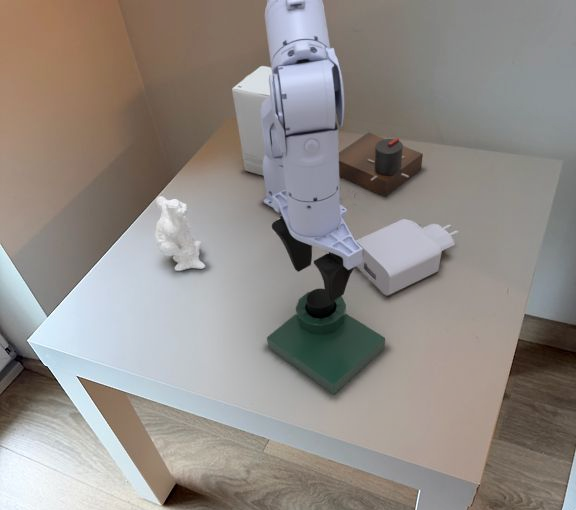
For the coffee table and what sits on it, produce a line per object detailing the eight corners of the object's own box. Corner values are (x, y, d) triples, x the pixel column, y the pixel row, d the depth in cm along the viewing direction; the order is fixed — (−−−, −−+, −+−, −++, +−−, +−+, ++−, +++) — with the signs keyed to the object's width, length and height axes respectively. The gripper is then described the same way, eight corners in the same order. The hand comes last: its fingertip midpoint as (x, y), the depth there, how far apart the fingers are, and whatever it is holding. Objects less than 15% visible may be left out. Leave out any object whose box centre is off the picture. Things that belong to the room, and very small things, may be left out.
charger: (471, 258, 80) (387, 298, 77) (432, 226, 85) (352, 263, 82) (477, 232, 76) (389, 273, 73) (436, 200, 81) (352, 238, 78)
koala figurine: (218, 266, 84) (201, 199, 75) (181, 285, 82) (158, 220, 73) (193, 239, 89) (174, 174, 79) (157, 257, 87) (133, 192, 77)
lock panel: (327, 176, 96) (326, 159, 93) (368, 147, 100) (368, 131, 98) (390, 205, 89) (391, 188, 87) (432, 174, 93) (434, 157, 91)
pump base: (267, 347, 73) (263, 327, 70) (320, 303, 77) (319, 282, 74) (334, 395, 68) (333, 376, 64) (388, 345, 71) (390, 325, 68)
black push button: (301, 310, 72) (300, 299, 70) (320, 295, 73) (319, 284, 72) (321, 322, 70) (320, 312, 69) (340, 307, 72) (339, 296, 70)
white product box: (285, 183, 96) (275, 97, 84) (244, 171, 99) (229, 88, 87) (310, 157, 100) (305, 72, 88) (270, 146, 104) (260, 63, 92)
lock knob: (389, 179, 88) (390, 154, 85) (369, 169, 91) (369, 145, 87) (406, 167, 90) (408, 142, 87) (386, 158, 92) (387, 133, 89)
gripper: (387, 200, 54) (381, 297, 65) (302, 144, 62) (310, 239, 73) (331, 230, 52) (335, 325, 63) (251, 169, 60) (267, 263, 71)
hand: (319, 281), depth 68 cm, fingers open, 6 cm apart
